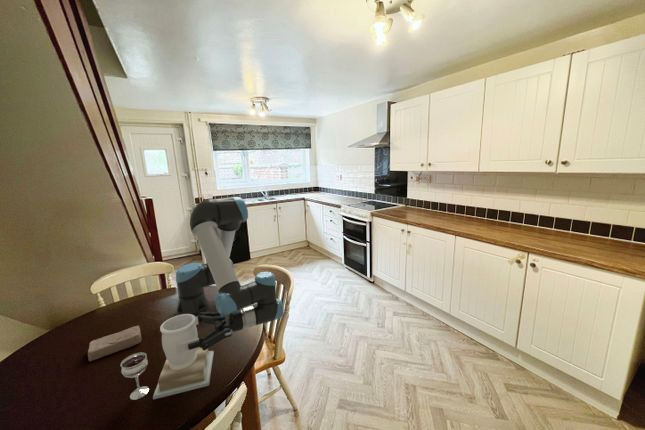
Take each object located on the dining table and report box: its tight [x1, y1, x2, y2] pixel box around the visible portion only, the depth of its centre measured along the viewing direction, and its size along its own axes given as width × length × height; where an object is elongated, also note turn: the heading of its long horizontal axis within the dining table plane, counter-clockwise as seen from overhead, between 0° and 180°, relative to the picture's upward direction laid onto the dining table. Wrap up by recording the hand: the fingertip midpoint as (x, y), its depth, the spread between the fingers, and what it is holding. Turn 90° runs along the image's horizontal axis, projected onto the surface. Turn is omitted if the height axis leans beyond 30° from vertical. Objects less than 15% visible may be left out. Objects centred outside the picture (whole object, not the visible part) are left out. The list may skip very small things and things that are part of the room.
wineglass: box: [120, 351, 150, 401], centre depth 80 cm, size 7×7×12 cm
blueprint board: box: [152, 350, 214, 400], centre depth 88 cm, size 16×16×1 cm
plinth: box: [157, 347, 210, 391], centre depth 88 cm, size 13×13×4 cm
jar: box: [159, 314, 199, 370], centre depth 86 cm, size 11×10×15 cm
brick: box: [87, 325, 142, 362], centre depth 103 cm, size 17×8×5 cm, turn 129°
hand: (177, 336), depth 85 cm, fingers open, 13 cm apart
